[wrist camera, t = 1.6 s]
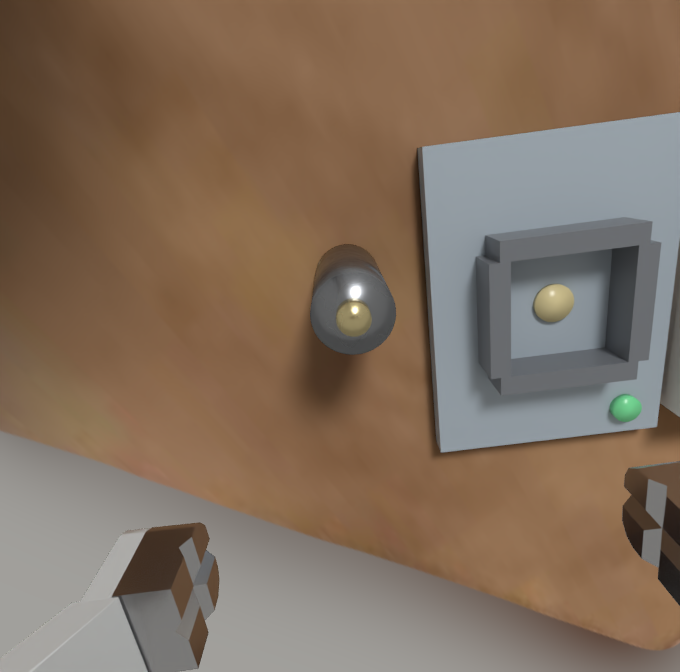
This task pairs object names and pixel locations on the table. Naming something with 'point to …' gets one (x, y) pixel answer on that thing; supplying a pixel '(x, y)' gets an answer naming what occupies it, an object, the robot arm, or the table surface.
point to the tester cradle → (550, 279)
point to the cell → (351, 301)
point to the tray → (673, 352)
